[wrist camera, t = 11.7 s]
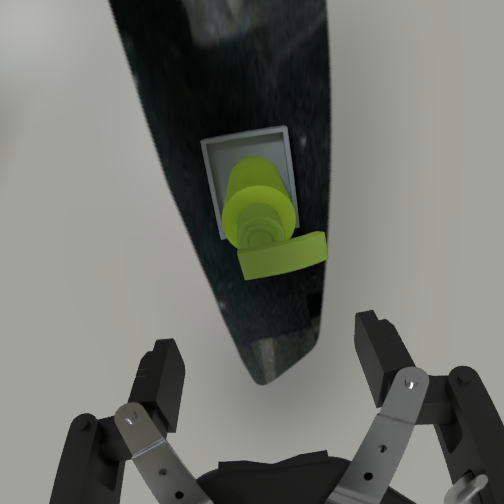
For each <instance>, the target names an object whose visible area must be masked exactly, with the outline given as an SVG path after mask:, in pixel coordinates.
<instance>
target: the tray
mask: <svg viewBox="0 0 504 504" xmlns="http://www.w3.org/2000/svg"><path fill="white" fill-rule="evenodd" d="M200 142H201V147H202V152H203V157H204V162H205V166H206V171H207V176H208V181H209V186H210V191H211V195H212V200H213V205H214V209H215V214H216V219H217V223H218V228H219V233H220V237H221V239H227V237H226V236H225V233H224V231H223V227H222V213H223V208H224V202H225V197H226V192H227V187H228V182H229V177H230V173H231V171H232V169H233V167H234V166H235V165H236V164H237V163H238V162H239V161H240V160H242V159H244V158H247V157H252V156H257V157H262V158H265V159H267V160H269V161H270V162H271V163H272V164H273V165H274V166H275V167H276V169H277V171H278V173H279V175H280V177H281V180H282V182H283V184H284V186H285V189H286V191H287V193H288V196H289V198H290V200H291V202H292V205H293V207H294V210H295V215H296V224H295V228H299V227H300V226H299V217H298V208H297V199H296V191H295V183H294V175H293V167H292V159H291V152H290V145H289V137H288V130H287V127H286V126H285V125H284V126H277V127H269V128H262V129H256V130H249V131H243V132H237V133H231V134H226V135H220V136H215V137H209V138H204V139H202V140H201V141H200Z"/></svg>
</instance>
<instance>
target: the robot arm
mask: <svg viewBox="0 0 504 504" xmlns="http://www.w3.org/2000/svg"><path fill="white" fill-rule="evenodd" d="M354 342H355V349H356V352H357V355H358V358H359V360H360V363H361V366H362V368H363V371H364V374H365V377H366V379H367V382H368V385H369V388H370V391H371V393H372V396H373V399H374V402H375V405H376V408H379V407H382V408H381V410H380V412H379V414H377V415H376V417H375V418H374V420H373V422H372V424H371V426H370V428H369V431H368V432H367V434H366V436H365V438H364V440H363V442H362V444H361V445H360V447H359V449H358V451H357V453H356V455H355V456H354V458H353V460H352V461H349V460H347V459H343V458H339V457H329V456H328V453H327V450H324V451H318V452H312V453H306V454H300V455H297V456H295V457H292V458H289V459H286V460H283V461H280V462H278V463H274V464H267V463H259V462H251V461H227V462H219V464H218V469H215V470H212V471H209V472H208V473H205V474H203V475H202V476H201V477H199V478H198V479H195V477H194V476H193V475H192V474H191V472H190V471H189V470H188V469H187V467H186V466H185V465H184V464H183V462H182V461H181V460H180V458H179V457H178V455H177V454H176V453H175V451H174V450H173V449H172V447H171V446H170V444H169V443H168V442H167V440H166V437H167V433H176V427H177V421H178V415H179V408H180V402H181V396H182V389H183V384H184V378H185V365H184V362H183V359H182V357H181V354H180V352H179V350H178V347H177V345H176V342H175V340H174V339H173V338H171V339H160V340H156V342H155V346H154V349H153V351H149V352H147V353H146V354H145V355H144V356H143V358H142V359H141V361H140V364H139V367H138V371H137V373H136V378H135V380H134V383H133V386H132V390H131V393H130V397H129V400H128V403H127V404H124V405H123V406H121V407H120V408H119V409H118V410H117V411H116V413H115V415H114V416H111V417H108V418H103V419H99V420H97V419H96V418H95V416H93V415H92V414H89V413H85V414H81V415H79V416H77V417H76V418H75V419H74V420H73V421H72V423H71V425H70V429H69V432H68V435H67V438H66V442H65V445H64V448H63V452H62V455H61V459H60V463H59V466H58V470H57V474H56V478H55V482H54V486H53V490H52V494H51V498H50V503H49V504H119V503H120V495H121V488H122V481H123V474H124V468H125V462H126V460H130V459H132V460H133V462H134V464H135V465H136V467H137V469H138V470H139V472H140V474H141V475H142V477H143V479H144V480H145V482H146V484H147V485H148V487H149V488H150V490H151V491H152V493H153V495H154V496H155V498H156V499H157V501H158V502H159V504H416V503H415V502H413V501H411V500H410V499H408V498H407V497H405V496H404V495H402V494H400V493H399V492H397V491H395V490H394V489H393V488H391V487H390V486H389V484H390V482H391V480H392V478H393V475H394V473H395V471H396V469H397V467H398V465H399V462H400V460H401V458H402V455H403V453H404V451H405V449H406V446H407V444H408V442H409V439H410V437H411V434H412V431H413V429H414V426H415V425H418V424H420V425H423V424H433V425H434V427H435V430H436V433H437V436H438V439H439V442H440V445H441V448H442V451H443V454H444V457H445V461H446V463H447V467H448V470H449V474H450V477H451V480H452V484H453V486H452V487H451V488H450V489H449V490H448V492H447V493H446V495H445V498H444V504H504V425H503V423H502V421H501V419H500V416H499V414H498V412H497V410H496V408H495V406H494V404H493V402H492V400H491V398H490V396H489V394H488V392H487V390H486V388H485V386H484V385H483V383H482V381H481V379H480V377H479V375H478V373H477V372H476V371H475V370H474V369H472V368H471V367H468V366H458V367H455V368H454V369H452V370H451V372H450V373H449V375H448V376H431V375H427V373H426V372H425V371H424V370H422V369H420V368H417V367H416V366H415V364H414V362H413V360H412V358H411V356H410V354H409V353H408V351H407V349H406V347H405V345H404V343H403V342H402V339H401V337H400V336H399V335H398V332H397V330H396V328H395V326H394V325H393V324H391V323H390V322H389V321H388V320H386V319H383V320H378V318H377V316H376V314H375V313H374V311H373V310H369V311H364V312H359V313H356V316H355V335H354Z"/></svg>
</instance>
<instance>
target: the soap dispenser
mask: <svg viewBox="0 0 504 504" xmlns="http://www.w3.org/2000/svg"><path fill="white" fill-rule="evenodd" d="M295 224H296V215H295V210H294V207H293V205H292V202H291V200H290V198H289V196H288V193H287V191H286V189H285V186H284V184H283V182H282V180H281V177H280V175H279V173H278V171H277V169H276V167H275V166H274V165H273V164H272V163H271V162H270V161H269V160H267V159H265V158H262V157H257V156H252V157H247V158H244V159H242V160H240V161H239V162H238V163H237V164H236V165H235V166H234V167H233V169H232V171H231V173H230V177H229V182H228V187H227V192H226V197H225V202H224V208H223V213H222V227H223V231H224V233H225V236H226V237H227V239H228V240H229V241H230V243H231V244H232V245H234V246H235V247H236V248H238V249H239V250H238V251H237V255H238V258H239V261H240V265H241V268H242V271H243V275H244V278H245V280H250V279H256V278H262V277H267V276H273V275H278V274H283V273H287V272H291V271H295V270H299V269H302V268H305V267H308V266H311V265H314V264H317V263H319V262H322V261H324V260H326V259H328V251H327V245H326V238H325V233H324V232H319V231H316V232H312V233H309V234H306V235H303V236H300V237H296V238H292V239H290V237H291V236H292V234H293V232H294V229H295Z"/></svg>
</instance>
